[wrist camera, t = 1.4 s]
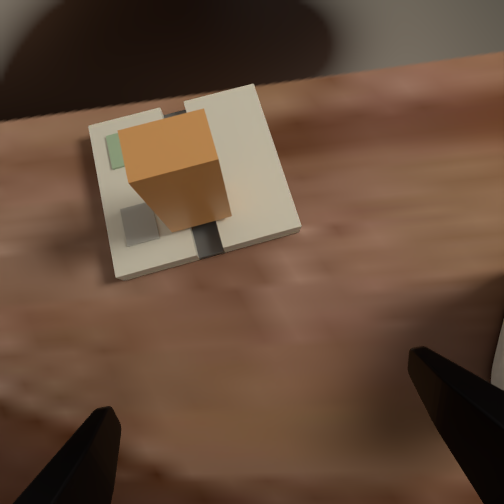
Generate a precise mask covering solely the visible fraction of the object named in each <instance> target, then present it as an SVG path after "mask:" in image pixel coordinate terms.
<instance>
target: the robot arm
mask: <svg viewBox="0 0 504 504" xmlns="http://www.w3.org/2000/svg"><path fill="white" fill-rule="evenodd" d="M408 373H409V375H410V378H411V380H412V382H413V384H414V386H415V388H416V390H417V392H418V394H419V396H420V398H421V400H422V402H423V404H424V406H425V408H426V410H427V412H428V414H429V416H430V417H431V419H432V421H433V423H434V425H435V427H436V428H437V430H438V432H439V433H440V435H441V437H442V438H443V440H444V441H445V443H446V445H447V446H448V448H449V449H450V451H451V453H452V454H453V456H454V457H455V459H456V460H457V462H458V464H459V465H460V467H461V468H462V470H463V472H464V473H465V475H466V476H467V478H468V480H469V481H470V483H471V484H472V486H473V487H474V489H475V491H476V492H477V494H478V495H479V497H480V499H481V500H482V502H483V503H484V504H504V390H502V389H500V388H498V387H496V386H495V385H493V384H491V383H489V382H488V381H486V380H484V379H482V378H480V377H479V376H477V375H475V374H473V373H472V372H470V371H468V370H466V369H465V368H463V367H461V366H459V365H457V364H456V363H454V362H452V361H450V360H449V359H447V358H445V357H443V356H441V355H440V354H438V353H436V352H434V351H433V350H431V349H429V348H427V347H425V346H420V347H414V348H411V349H410V350H409V359H408ZM120 437H121V424H120V422H119V420H118V418H117V416H116V414H115V412H114V410H113V408H112V407H110V406H107V407H101V408H97V409H96V410H94V411H93V412H92V413H91V415H90V416H89V417H88V418H87V419H86V420H85V421H84V423H83V424H82V425H81V426H80V427H79V428H78V429H77V431H76V432H75V433H74V434H73V435H72V436H71V438H70V439H69V440H68V441H67V442H66V443H65V444H64V446H63V447H62V448H61V449H60V450H59V451H58V452H57V454H56V455H55V456H54V457H53V458H52V459H51V460H50V462H49V463H48V464H47V465H46V466H45V467H44V468H43V470H42V471H41V472H40V473H39V474H38V475H37V476H36V478H35V479H34V480H33V481H32V482H31V483H30V484H29V486H28V487H27V488H26V489H25V490H24V491H23V492H22V494H21V495H20V496H19V497H18V498H17V499H16V501H15V502H14V503H13V504H111V500H112V495H113V490H114V484H115V477H116V469H117V461H118V453H119V445H120Z"/></svg>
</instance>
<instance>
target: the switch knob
mask: <svg viewBox="0 0 504 504" xmlns="http://www.w3.org/2000/svg"><path fill="white" fill-rule="evenodd" d="M117 131H118V136H119V140H120V145H121V150H122V155H123V160H124V165H125V170H126V175H127V179H128V183H129V184H130V186H131V187H132V188H133V189H134V190H135V191H136V192H137V193H138V195H139V196H140V197H141V198H142V199H143V200H144V201H145V202H146V204H147V205H148V206H149V207H150V208H151V209H152V210H153V211H154V213H155V214H156V215H157V216H158V217H159V218H160V219H161V220H162V222H163V223H164V224H165V225H166V226H167V227H168V228H169V229H170V231H171V232H176V231H179V230H183V229H187V228H190V227H194V226H198V225H201V224H205V223H209V222H212V221H216V220H220V219H223V218H227V217H230V216H232V214H231V210H230V205H229V201H228V197H227V193H226V188H225V184H224V180H223V176H222V172H221V167H220V163H219V159H218V155H217V152H216V148H215V145H214V141H213V138H212V134H211V131H210V127H209V124H208V120H207V117H206V113H205V110H204V108H203V109H199V110H195V111H191V112H188V113H184V114H180V115H176V116H172V117H168V118H164V119H160V120H156V121H153V122H149V123H145V124H141V125H137V126H133V127H129V128H125V129H121V130H117Z"/></svg>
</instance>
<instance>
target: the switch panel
mask: <svg viewBox="0 0 504 504" xmlns="http://www.w3.org/2000/svg"><path fill="white" fill-rule="evenodd" d="M184 105H185V108H186V110H183V111H179V112H175V113H171V114H167V115H163V113H162V111H161V109H160V108H156V109H152V110H148V111H144V112H140V113H137V114H133V115H129V116H125V117H121V118H117V119H113V120H109V121H105V122H101V123H97V124H93V125H90V126H88V127H89V133H90V138H91V144H92V149H93V155H94V160H95V166H96V172H97V177H98V183H99V188H100V194H101V199H102V205H103V210H104V216H105V221H106V227H107V232H108V238H109V244H110V249H111V255H112V260H113V266H114V271H115V277H116V278H118V279H121V280H123V281H125V280H129V279H133V278H136V277H140V276H143V275H147V274H150V273H154V272H158V271H161V270H165V269H168V268H172V267H176V266H179V265H183V264H186V263H190V262H193V261H197V260H201V259H204V258H208V257H211V256H215V255H219V254H222V253H226V252H229V251H233V250H236V249H240V248H244V247H247V246H251V245H254V244H258V243H262V242H265V241H269V240H272V239H276V238H279V237H283V236H287V235H290V234H294V233H297V232H299V231H300V228H301V223H300V220H299V217H298V214H297V211H296V208H295V205H294V202H293V199H292V196H291V193H290V190H289V187H288V184H287V182H286V179H285V176H284V173H283V170H282V167H281V164H280V161H279V158H278V155H277V152H276V149H275V146H274V143H273V140H272V137H271V134H270V131H269V128H268V125H267V122H266V119H265V116H264V113H263V110H262V108H261V105H260V102H259V99H258V96H257V93H256V90H255V87H254V84H250V85H247V86H242V87H239V88H235V89H231V90H227V91H223V92H219V93H215V94H211V95H207V96H203V97H199V98H195V99H191V100H188V101H184ZM203 108H204V110H205V113H206V117H207V120H208V124H209V127H210V131H211V134H212V138H213V141H214V145H215V148H216V152H217V155H218V159H219V163H220V167H221V172H222V176H223V180H224V184H225V188H226V193H227V197H228V201H229V205H230V210H231V214H232V216H230V217H227V218H223V219H220V220H216V221H212V222H209V223H205V224H201V225H198V226H194V227H190V228H187V229H183V230H179V231H176V232H171V231H170V229H169V228H168V227H167V226H166V225H165V224H164V223H163V222H162V220H161V219H160V218H159V217H158V216H157V215H156V214H155V213H154V211H153V210H152V209H151V208H150V207H149V206H148V205H147V204H146V202H145V201H144V200H143V199H142V198H141V197H140V196H139V195H138V193H137V192H136V191H135V190H134V189H133V188H132V187H131V186H130V184H129V183H128V179H127V175H126V170H125V165H124V160H123V155H122V150H121V145H120V140H119V136H118V131H117V130H121V129H125V128H129V127H133V126H137V125H141V124H145V123H149V122H153V121H156V120H160V119H164V118H168V117H172V116H176V115H180V114H184V113H188V112H191V111H195V110H199V109H203Z"/></svg>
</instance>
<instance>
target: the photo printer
mask: <svg viewBox="0 0 504 504" xmlns="http://www.w3.org/2000/svg"><path fill="white" fill-rule="evenodd" d="M491 384H493V385H495V386H496V387H498V388H500V389H502V390H504V320H503V324H502V328H501V331H500V336H499V340H498V344H497V348H496V352H495V357H494V362H493V366H492V373H491Z"/></svg>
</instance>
